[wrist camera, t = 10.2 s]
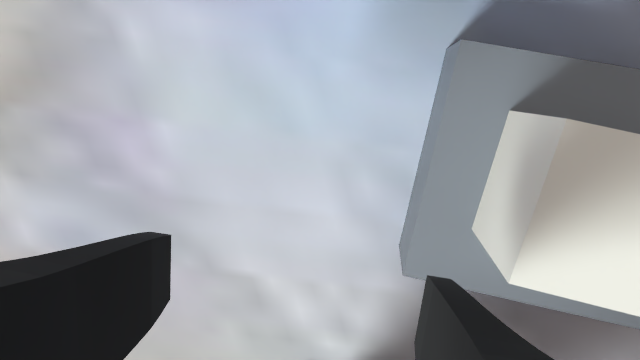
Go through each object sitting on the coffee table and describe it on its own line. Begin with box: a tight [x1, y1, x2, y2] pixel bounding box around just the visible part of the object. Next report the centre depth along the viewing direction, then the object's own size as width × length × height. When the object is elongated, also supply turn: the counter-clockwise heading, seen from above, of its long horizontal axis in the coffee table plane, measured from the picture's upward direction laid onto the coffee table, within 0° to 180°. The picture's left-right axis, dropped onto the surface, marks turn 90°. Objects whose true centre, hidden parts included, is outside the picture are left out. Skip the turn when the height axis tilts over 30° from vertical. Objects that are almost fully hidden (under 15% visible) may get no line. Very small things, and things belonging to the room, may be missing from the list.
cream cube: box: [472, 110, 640, 317], centre depth 14 cm, size 5×5×5 cm
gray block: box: [399, 39, 640, 330], centre depth 18 cm, size 10×10×4 cm
